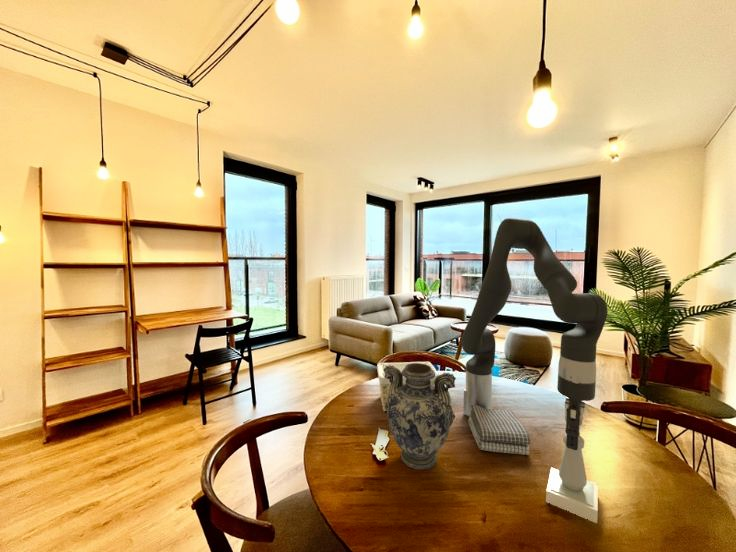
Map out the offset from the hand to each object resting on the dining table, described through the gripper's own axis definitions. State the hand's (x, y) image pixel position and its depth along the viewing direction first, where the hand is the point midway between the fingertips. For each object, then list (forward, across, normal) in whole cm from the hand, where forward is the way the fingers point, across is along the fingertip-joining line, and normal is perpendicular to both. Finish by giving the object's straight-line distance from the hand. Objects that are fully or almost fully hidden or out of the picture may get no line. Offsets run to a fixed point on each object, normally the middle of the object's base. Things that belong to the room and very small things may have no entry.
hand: (573, 439), depth 74 cm
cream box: (+17, -18, -58) cm, 63 cm away
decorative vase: (+16, +9, -38) cm, 42 cm away
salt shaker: (+12, 0, 0) cm, 12 cm away
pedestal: (+15, 0, 0) cm, 15 cm away
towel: (+16, -15, -21) cm, 31 cm away
